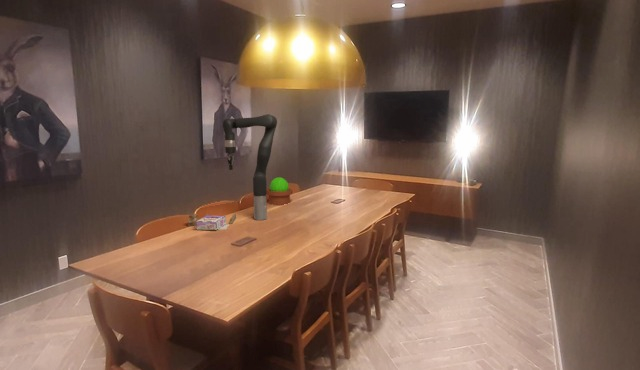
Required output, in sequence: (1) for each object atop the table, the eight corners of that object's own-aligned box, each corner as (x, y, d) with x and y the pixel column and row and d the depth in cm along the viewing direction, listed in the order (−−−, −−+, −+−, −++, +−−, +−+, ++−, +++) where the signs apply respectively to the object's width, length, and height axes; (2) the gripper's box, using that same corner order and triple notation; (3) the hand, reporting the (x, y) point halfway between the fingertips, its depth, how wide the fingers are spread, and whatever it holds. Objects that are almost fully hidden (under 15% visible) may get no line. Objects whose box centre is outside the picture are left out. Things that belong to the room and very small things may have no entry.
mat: (229, 225, 243) (229, 224, 243) (225, 229, 231) (225, 229, 231) (202, 225, 242) (202, 225, 242) (197, 230, 230) (197, 229, 230)
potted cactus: (281, 208, 298) (281, 178, 294) (261, 205, 309) (261, 177, 306) (297, 204, 316) (297, 176, 312) (278, 201, 328) (277, 174, 324)
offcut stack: (198, 223, 248) (198, 213, 247) (195, 226, 240) (195, 215, 240) (191, 223, 248) (190, 213, 247) (187, 226, 240) (187, 216, 239)
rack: (236, 218, 263) (235, 213, 262) (232, 223, 246) (232, 219, 246) (206, 218, 261) (206, 214, 261) (201, 224, 245) (200, 219, 244)
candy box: (226, 215, 243) (216, 221, 227) (226, 224, 244) (217, 230, 228) (206, 215, 245) (195, 220, 229) (206, 223, 246) (196, 229, 229)
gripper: (233, 146, 258) (234, 170, 260) (236, 146, 271) (237, 168, 273) (223, 146, 257) (224, 170, 260) (226, 146, 271) (227, 168, 273)
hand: (231, 169), depth 267 cm, fingers closed
